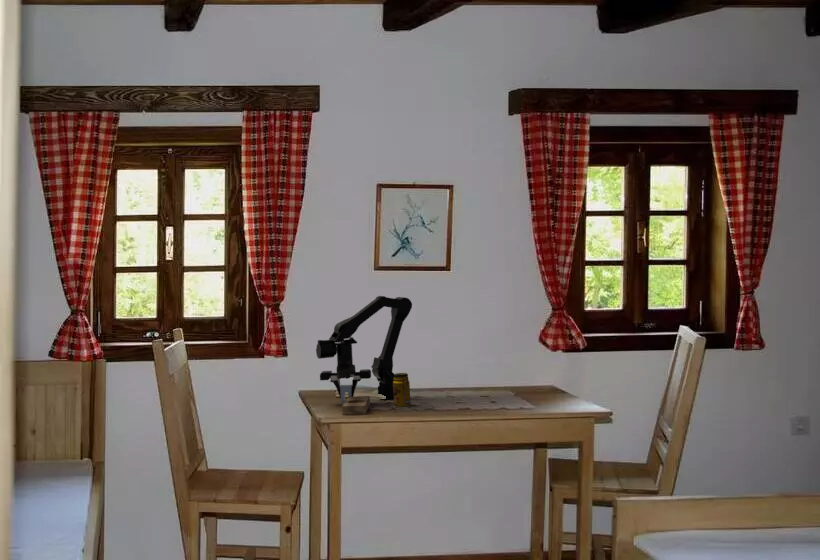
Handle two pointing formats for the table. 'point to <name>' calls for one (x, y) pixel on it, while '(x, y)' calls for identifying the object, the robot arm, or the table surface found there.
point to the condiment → (401, 391)
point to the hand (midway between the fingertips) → (346, 397)
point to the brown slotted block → (356, 405)
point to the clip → (345, 389)
